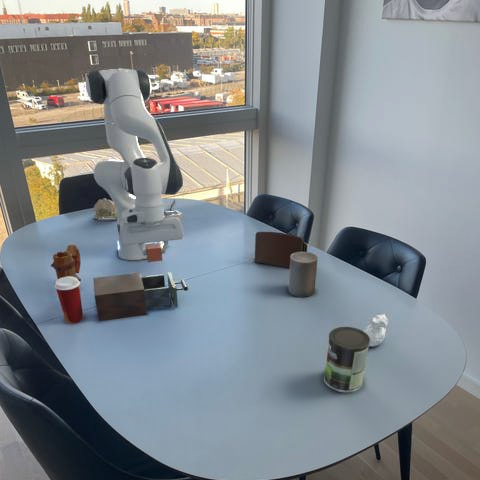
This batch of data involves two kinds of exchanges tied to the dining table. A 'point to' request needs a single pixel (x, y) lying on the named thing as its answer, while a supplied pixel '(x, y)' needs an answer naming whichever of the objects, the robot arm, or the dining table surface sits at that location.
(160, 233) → the robot arm
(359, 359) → the coffee can
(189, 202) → the dining table surface
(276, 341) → the dining table surface
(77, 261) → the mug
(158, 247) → the block
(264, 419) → the dining table surface
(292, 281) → the pillar candle
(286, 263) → the letter holder
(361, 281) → the dining table surface
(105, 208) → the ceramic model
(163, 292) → the drawer
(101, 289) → the cabinet
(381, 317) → the bust
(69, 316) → the paper cup
